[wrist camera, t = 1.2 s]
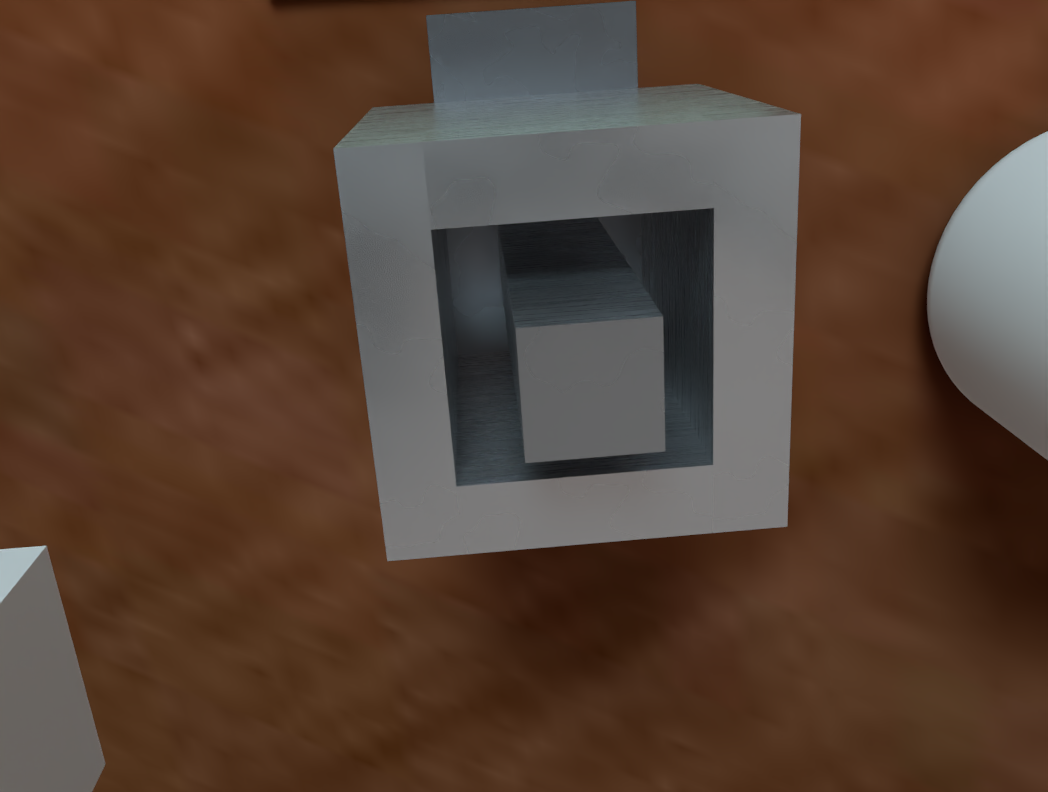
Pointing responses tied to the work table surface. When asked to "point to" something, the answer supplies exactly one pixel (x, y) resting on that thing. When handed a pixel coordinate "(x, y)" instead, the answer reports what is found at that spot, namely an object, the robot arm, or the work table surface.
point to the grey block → (556, 246)
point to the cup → (998, 294)
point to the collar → (667, 275)
